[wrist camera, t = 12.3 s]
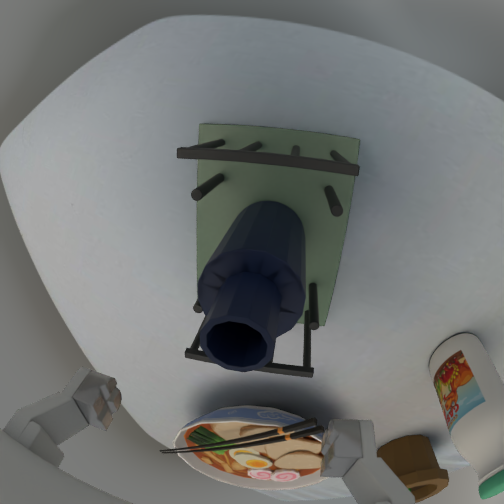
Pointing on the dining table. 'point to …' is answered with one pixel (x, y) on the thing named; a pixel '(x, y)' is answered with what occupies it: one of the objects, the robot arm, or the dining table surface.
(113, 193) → the dining table surface
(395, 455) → the flowerpot
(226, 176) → the rack
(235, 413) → the ramen bowl
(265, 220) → the bottle
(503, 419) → the milk bottle
